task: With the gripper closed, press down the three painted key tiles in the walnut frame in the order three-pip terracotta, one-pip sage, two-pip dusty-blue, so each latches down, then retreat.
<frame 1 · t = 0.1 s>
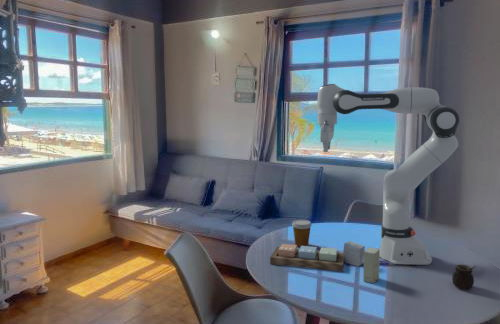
hand: (326, 150, 177), 48 cm above the table, fingers open, 8 cm apart
key frame: (307, 261, 171), on the table
mate gourd: (463, 287, 145), on the table
tile one: (328, 254, 168), point 4 cm above the table, slide at 0.0 cm
skincare box: (371, 279, 153), on the table
tile two: (307, 252, 171), point 4 cm above the table, slide at 0.0 cm
medicine box: (352, 263, 169), on the table, touching key frame
tile three: (287, 250, 173), point 4 cm above the table, slide at 0.0 cm
disposable coffee cup: (301, 245, 191), on the table
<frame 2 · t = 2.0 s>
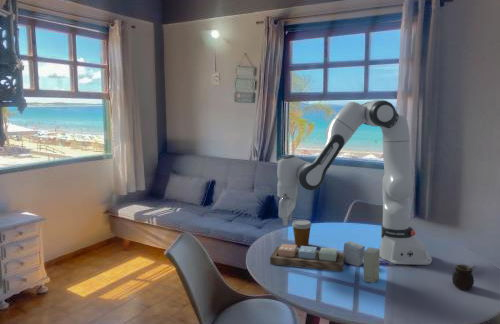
hand: (287, 222, 172), 17 cm above the table, fingers open, 7 cm apart
nothing on the table moved.
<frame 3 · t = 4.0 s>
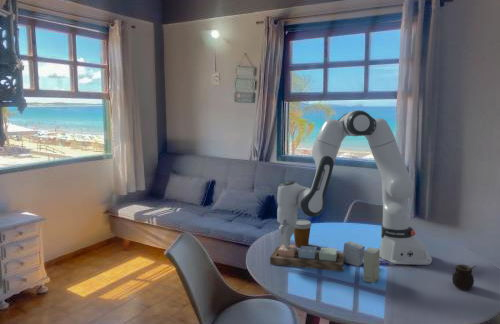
hand: (287, 247, 173), 6 cm above the table, fingers closed
tile three: (287, 250, 173), point 4 cm above the table, slide at 0.2 cm, touching gripper
everything else where it was.
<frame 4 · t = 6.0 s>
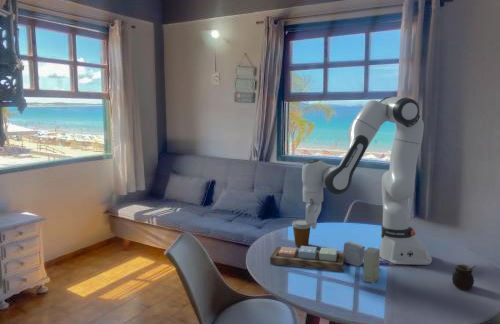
hand: (314, 227, 169), 16 cm above the table, fingers closed
tile three: (287, 253, 174), point 3 cm above the table, slide at 1.4 cm
everything else where it was.
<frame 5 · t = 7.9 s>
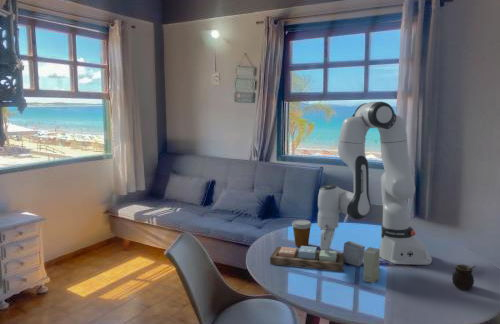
hand: (327, 252, 168), 5 cm above the table, fingers closed
tile one: (328, 256, 168), point 3 cm above the table, slide at 1.1 cm, touching gripper
everything else where it was.
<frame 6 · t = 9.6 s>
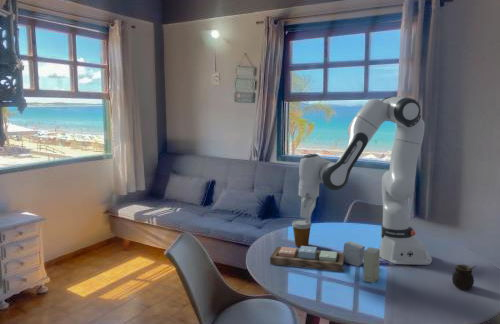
hand: (307, 222, 168), 18 cm above the table, fingers closed
tile one: (328, 257, 168), point 3 cm above the table, slide at 1.4 cm
everything else where it was.
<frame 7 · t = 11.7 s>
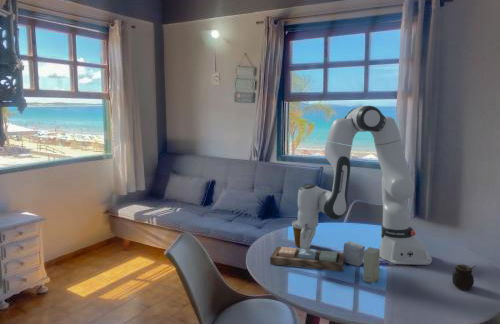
hand: (308, 251, 171), 5 cm above the table, fingers closed, pressing on tile two
tile two: (307, 254, 171), point 3 cm above the table, slide at 1.2 cm, touching gripper
everything else where it was.
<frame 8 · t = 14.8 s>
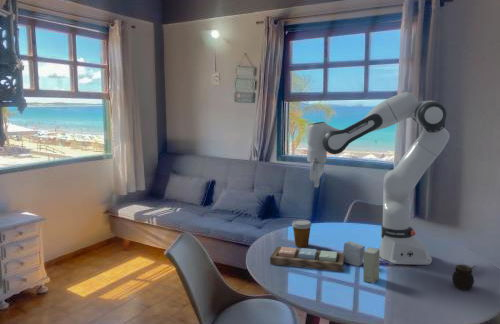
hand: (316, 186, 179), 31 cm above the table, fingers closed
tile two: (307, 254, 171), point 3 cm above the table, slide at 1.1 cm
everything else where it was.
at the end: tile three slide at 1.4 cm; tile one slide at 1.4 cm; tile two slide at 1.1 cm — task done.
